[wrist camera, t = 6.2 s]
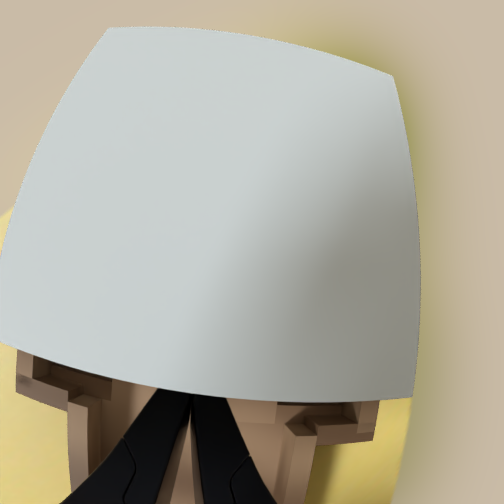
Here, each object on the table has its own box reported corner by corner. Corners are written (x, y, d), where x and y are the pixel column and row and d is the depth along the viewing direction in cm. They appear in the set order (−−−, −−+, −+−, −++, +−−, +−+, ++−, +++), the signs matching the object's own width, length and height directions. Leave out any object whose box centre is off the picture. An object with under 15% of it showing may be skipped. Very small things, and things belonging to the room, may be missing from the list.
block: (264, 352, 14) (412, 397, 4) (139, 334, 13) (-12, 336, 3) (277, 232, 16) (392, 76, 5) (160, 214, 15) (108, 28, 4)
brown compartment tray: (319, 533, 13) (338, 559, 9) (52, 500, 11) (32, 521, 7) (360, 231, 18) (388, 213, 15) (80, 188, 16) (60, 161, 13)
